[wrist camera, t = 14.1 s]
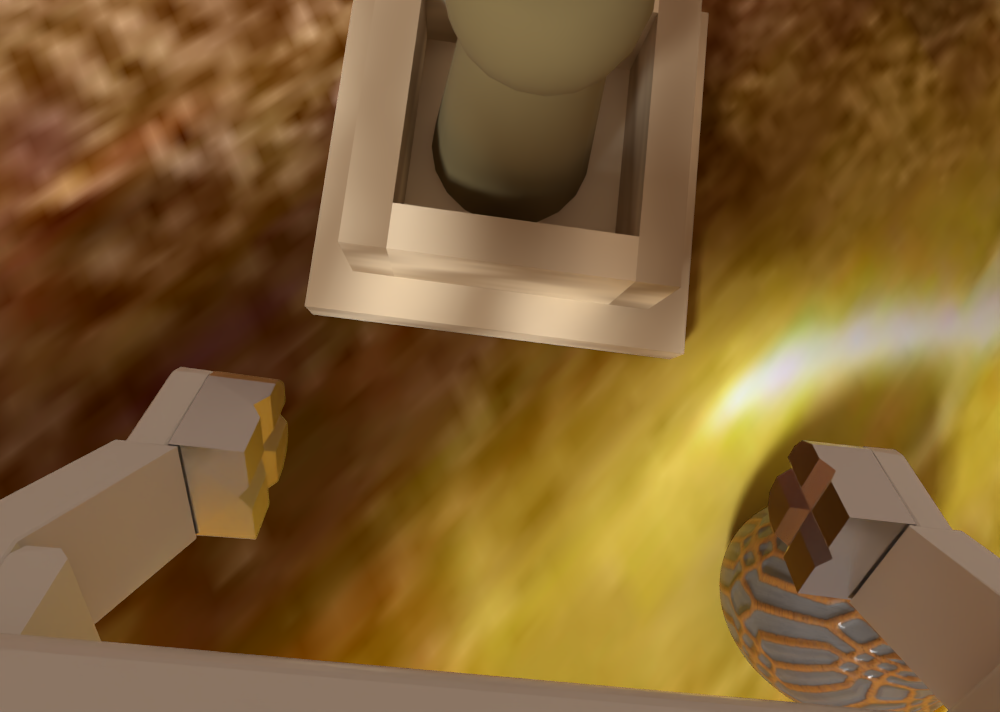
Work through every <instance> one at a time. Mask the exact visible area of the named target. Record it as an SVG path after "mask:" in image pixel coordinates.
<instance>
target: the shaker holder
mask: <svg viewBox="0 0 1000 712" xmlns="http://www.w3.org/2000/svg"><path fill="white" fill-rule="evenodd" d="M701 9H702V0H655V3H654V10H653V13H652V15H651V17H650V19H649V21H648V23H647V25H646V27H645V28H644V30H643V32H642V34H641V36H640V38H639V40H638V42H637V44H636V46H635V48H634V50H633V52H632V53H631V54H630V55H629V56H628V57H627V58H626V59H625V60H624V61H622V62H621V63H620V64H619V65H618V66H617V67H616V68H615V69H614V70H613V71H612V72H611V73H610V74H608V75H607V76H606V81H605V86H604V90H603V95H602V100H601V105H600V110H599V115H598V120H597V125H596V130H595V135H594V140H593V144H592V149H591V154H590V159H589V164H588V169H587V174H586V176H585V178H584V180H583V182H582V184H581V186H580V188H579V190H578V192H577V194H576V196H575V197H574V198H573V199H572V200H571V201H569V202H568V203H567V204H566V205H565V206H564V207H563V208H562V209H561V210H560V211H559V212H558V213H555V214H553V215H551V216H549V217H547V218H545V219H543V220H541V221H539V222H529V221H522V220H515V219H508V218H500V217H493V216H486V215H479V214H472V213H470V212H468V211H466V210H464V209H463V208H462V207H461V206H460V205H459V204H458V203H457V202H456V201H455V200H454V199H453V198H452V197H451V196H450V195H449V194H448V193H447V192H446V190H445V188H444V186H443V184H442V182H441V180H440V178H439V176H438V174H437V173H436V171H435V165H434V159H433V152H432V141H433V136H434V130H435V124H436V120H437V116H438V112H439V108H440V105H441V101H442V97H443V93H444V89H445V85H446V81H447V77H448V73H449V70H450V66H451V62H452V58H453V54H454V50H455V46H456V42H457V39H458V38H457V36H456V34H455V32H454V30H453V28H452V25H451V23H450V20H449V18H448V13H447V7H446V1H445V0H353V5H352V11H351V17H350V24H349V30H348V36H347V43H346V49H345V55H344V62H343V68H342V74H341V80H340V87H339V93H338V99H337V106H336V112H335V118H334V125H333V131H332V137H331V144H330V150H329V156H328V163H327V169H326V175H325V182H324V188H323V194H322V200H321V207H320V213H319V219H318V226H317V232H316V238H315V245H314V251H313V257H312V264H311V270H310V276H309V283H308V289H307V295H306V301H305V307H306V308H307V309H308V310H309V311H310V312H311V313H312V314H315V315H323V316H331V317H339V318H346V319H354V320H362V321H370V322H378V323H386V324H394V325H402V326H410V327H418V328H426V329H434V330H442V331H450V332H458V333H466V334H474V335H482V336H490V337H498V338H506V339H514V340H522V341H530V342H538V343H546V344H554V345H562V346H570V347H578V348H586V349H594V350H602V351H610V352H618V353H626V354H633V355H641V356H649V357H657V358H665V359H672V358H675V357H677V356H680V355H682V354H684V346H685V333H686V319H687V305H688V291H689V277H690V264H691V250H692V236H693V222H694V208H695V195H696V181H697V167H698V153H699V139H700V126H701V112H702V98H703V84H704V70H705V57H706V43H707V29H708V15H709V13H706V12H701Z"/></svg>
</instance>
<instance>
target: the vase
mask: <svg viewBox="0 0 1000 712" xmlns="http://www.w3.org/2000/svg"><path fill="white" fill-rule="evenodd" d="M787 548H788V546H787V545H786V544H785V543H784V542H783V541H782V540H781V539H780V538H779V537H778V536H777V535H775V534H774V531H773V528H772V526H771V523H770V520H769V512H768V507H766V508H765V509H763V510H761V511H760V512H758V513H757V514H755V515H754V516H752V517H751V518H750V519H749V520H748V521H747V522H746V523H745V524H744V525H743V526H742V527H741V528H740V529H739V530H738V532H737V533H736V534H735V536H734V538H733V539H732V541H731V542H730V544H729V546H728V548H727V551H726V553H725V556H724V559H723V563H722V567H721V573H720V599H721V605H722V610H723V614H724V617H725V620H726V623H727V625H728V628H729V630H730V633H731V635H732V637H733V639H734V641H735V643H736V644H737V646H738V647H739V649H740V651H741V652H742V654H743V655H744V657H745V658H746V659H747V661H748V662H749V663H750V664H751V665H752V667H753V668H754V669H755V670H756V671H757V672H758V673H759V674H760V675H761V676H762V677H763V678H764V679H765V680H766V681H768V682H769V683H770V684H771V685H772V686H773V687H775V688H776V689H777V690H778V691H780V692H781V693H783V694H784V695H785V696H787V697H788V698H790V699H792V700H793V701H795V702H796V703H808V704H819V705H831V706H843V707H854V708H865V709H877V710H888V711H900V712H933V711H934V710H936V709H937V708H939V707H940V706H942V705H943V703H942V702H941V701H940V700H939V699H938V698H937V697H936V696H935V695H934V694H933V693H932V691H931V690H930V689H929V688H928V687H927V686H926V685H925V684H924V683H923V682H922V681H921V680H920V678H919V677H918V676H917V675H916V674H915V673H914V672H913V671H912V670H911V669H910V668H909V667H908V665H907V664H906V663H905V662H904V661H903V660H902V659H901V658H900V657H899V656H898V655H897V654H896V652H895V651H894V650H893V649H892V648H891V647H890V646H889V645H888V644H887V643H886V642H885V640H884V639H883V638H882V637H881V636H880V635H879V634H878V633H877V632H876V631H875V630H874V629H873V627H872V626H871V625H870V624H869V623H868V622H867V621H866V620H865V619H864V618H863V617H862V616H861V614H860V613H859V612H858V611H857V610H856V609H855V608H854V607H853V606H852V605H851V604H850V603H849V602H850V601H851V600H847V599H839V598H831V597H824V596H816V595H808V594H800V593H797V590H796V588H795V585H794V583H793V580H792V578H791V575H790V573H789V570H788V568H787V565H786V562H785V560H784V554H785V552H786V550H787Z"/></svg>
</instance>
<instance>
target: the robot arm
mask: <svg viewBox="0 0 1000 712" xmlns="http://www.w3.org/2000/svg"><path fill="white" fill-rule="evenodd" d="M284 403H285V391H284V384H283V383H282V382H281V381H280V380H276V379H269V378H262V377H255V376H248V375H240V374H233V373H226V372H219V371H214V372H212V371H207V370H200V369H192V368H185V367H180V368H178V369H176V370H175V371H173V372H172V373H171V375H170V376H169V378H168V379H167V380H166V382H165V383H164V385H163V386H162V388H161V389H160V391H159V392H158V394H157V395H156V397H155V398H154V400H153V401H152V403H151V404H150V406H149V407H148V409H147V410H146V412H145V413H144V415H143V416H142V418H141V419H140V421H139V422H138V424H137V425H136V427H135V428H134V430H133V431H132V433H131V434H130V436H129V437H128V439H127V440H126V441H123V440H114V441H112V442H110V443H108V444H106V445H105V446H103V447H101V448H99V449H97V450H95V451H93V452H91V453H89V454H87V455H85V456H84V457H82V458H80V459H78V460H76V461H74V462H72V463H70V464H68V465H66V466H64V467H62V468H61V469H59V470H57V471H55V472H53V473H51V474H49V475H47V476H45V477H43V478H41V479H39V480H38V481H36V482H34V483H32V484H30V485H28V486H26V487H24V488H22V489H20V490H18V491H17V492H15V493H13V494H11V495H9V496H7V497H5V498H3V499H1V500H0V712H900V711H888V710H877V709H865V708H854V707H843V706H831V705H819V704H808V703H796V702H785V701H773V700H762V699H750V698H738V697H727V696H715V695H704V694H692V693H681V692H669V691H657V690H646V689H634V688H623V687H612V686H600V685H589V684H578V683H567V682H555V681H544V680H533V679H522V678H510V677H499V676H488V675H477V674H465V673H454V672H443V671H431V670H420V669H409V668H397V667H386V666H374V665H363V664H352V663H340V662H329V661H318V660H306V659H295V658H283V657H272V656H261V655H249V654H238V653H227V652H215V651H204V650H192V649H181V648H170V647H158V646H147V645H135V644H124V643H113V642H101V640H100V638H99V635H98V633H97V630H96V628H95V625H94V624H95V623H96V622H98V621H99V620H100V619H101V618H102V617H104V616H105V615H106V614H107V613H108V612H109V611H111V610H112V609H113V608H114V607H115V606H117V605H118V604H119V603H120V602H121V601H123V600H124V599H125V598H126V597H127V596H128V595H130V594H131V593H132V592H133V591H134V590H136V589H137V588H138V587H139V586H140V585H142V584H143V583H144V582H145V581H146V580H147V579H149V578H150V577H151V576H152V575H153V574H155V573H156V572H157V571H158V570H159V569H161V568H162V567H163V566H164V565H165V564H166V563H168V562H169V561H170V560H171V559H172V558H174V557H175V556H176V555H177V554H178V553H180V552H181V551H182V550H183V549H184V548H185V547H187V546H188V545H189V544H190V543H191V542H193V541H194V540H195V539H196V535H203V536H217V537H231V538H245V539H256V537H257V534H258V532H259V529H260V527H261V524H262V521H263V519H264V516H265V514H266V511H267V509H268V506H269V496H268V488H269V487H270V486H272V485H273V484H275V483H276V482H277V481H278V480H279V477H280V474H281V471H282V468H283V465H284V460H285V455H286V450H287V439H288V429H287V422H286V420H285V419H284V418H283V417H282V416H281V415H280V413H281V410H282V408H283V405H284ZM788 459H789V462H790V465H791V469H789V470H788V471H786V472H784V473H783V474H781V475H779V476H778V477H777V478H776V480H775V482H774V484H773V486H772V488H771V490H770V494H769V502H768V512H769V520H770V523H771V526H772V528H773V531H774V534H775V535H777V536H778V537H779V538H780V539H781V540H782V541H783V542H784V543H785V544H786V545H787V546H788V548H787V550H786V552H785V554H784V560H785V562H786V565H787V568H788V570H789V573H790V575H791V578H792V580H793V583H794V585H795V588H796V590H797V593H800V594H808V595H816V596H824V597H831V598H839V599H847V600H851V601H850V602H849V603H850V604H851V605H852V606H853V607H854V608H855V609H856V610H857V611H858V612H859V613H860V614H861V616H862V617H863V618H864V619H865V620H866V621H867V622H868V623H869V624H870V625H871V626H872V627H873V629H874V630H875V631H876V632H877V633H878V634H879V635H880V636H881V637H882V638H883V639H884V640H885V642H886V643H887V644H888V645H889V646H890V647H891V648H892V649H893V650H894V651H895V652H896V654H897V655H898V656H899V657H900V658H901V659H902V660H903V661H904V662H905V663H906V664H907V665H908V667H909V668H910V669H911V670H912V671H913V672H914V673H915V674H916V675H917V676H918V677H919V678H920V680H921V681H922V682H923V683H924V684H925V685H926V686H927V687H928V688H929V689H930V690H931V691H932V693H933V694H934V695H935V696H936V697H937V698H938V699H939V700H940V701H941V702H942V703H943V705H944V706H945V707H946V708H947V709H948V711H947V712H1000V558H999V557H997V556H996V555H994V554H993V553H992V552H990V551H989V550H988V549H986V548H985V547H983V546H982V545H981V544H979V543H978V542H976V541H975V540H974V539H972V538H971V537H969V536H968V535H967V534H965V533H964V532H963V531H957V530H952V529H951V527H950V526H949V524H948V523H947V521H946V520H945V518H944V517H943V515H942V513H941V512H940V510H939V509H938V507H937V506H936V504H935V503H934V501H933V500H932V498H931V497H930V495H929V494H928V492H927V491H926V489H925V488H924V486H923V485H922V483H921V482H920V480H919V478H918V477H917V475H916V474H915V472H914V471H913V469H912V468H911V466H910V465H909V463H908V462H907V460H906V459H905V457H904V456H903V455H902V454H901V453H899V452H898V451H896V450H895V449H885V448H875V447H858V446H850V445H840V444H831V443H822V442H813V441H803V440H802V441H801V442H799V443H798V444H797V445H795V446H794V448H793V450H792V451H791V453H790V455H789V456H788Z"/></svg>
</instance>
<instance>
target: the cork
mask: <svg viewBox="0 0 1000 712" xmlns="http://www.w3.org/2000/svg"><path fill="white" fill-rule="evenodd" d="M445 1H446V7H447V13H448V18H449V20H450V23H451V25H452V28H453V30H454V32H455V34H456V36H457V38H458V39H457V42H456V46H455V50H454V54H453V58H452V62H451V66H450V70H449V73H448V77H447V81H446V85H445V89H444V93H443V97H442V101H441V105H440V108H439V112H438V116H437V120H436V124H435V130H434V136H433V141H432V152H433V159H434V165H435V171H436V173H437V174H438V176H439V178H440V180H441V182H442V184H443V186H444V188H445V190H446V192H447V193H448V194H449V195H450V196H451V197H452V198H453V199H454V200H455V201H456V202H457V203H458V204H459V205H460V206H461V207H462V208H463V209H464V210H466V211H468V212H470V213H472V214H479V215H486V216H493V217H500V218H508V219H515V220H522V221H529V222H539V221H541V220H543V219H545V218H547V217H549V216H551V215H553V214H555V213H558V212H559V211H560V210H561V209H562V208H563V207H564V206H565V205H566V204H567V203H568V202H569V201H571V200H572V199H573V198H574V197H575V196H576V194H577V192H578V190H579V188H580V186H581V184H582V182H583V180H584V178H585V176H586V174H587V169H588V164H589V159H590V154H591V149H592V144H593V140H594V135H595V130H596V125H597V120H598V115H599V110H600V105H601V100H602V95H603V90H604V86H605V81H606V76H607V75H608V74H610V73H611V72H612V71H613V70H614V69H615V68H616V67H617V66H618V65H619V64H620V63H621V62H622V61H624V60H625V59H626V58H627V57H628V56H629V55H630V54H631V53H632V52H633V50H634V48H635V46H636V44H637V42H638V40H639V38H640V36H641V34H642V32H643V30H644V28H645V27H646V25H647V23H648V21H649V19H650V17H651V15H652V13H653V10H654V3H655V0H445Z"/></svg>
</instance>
